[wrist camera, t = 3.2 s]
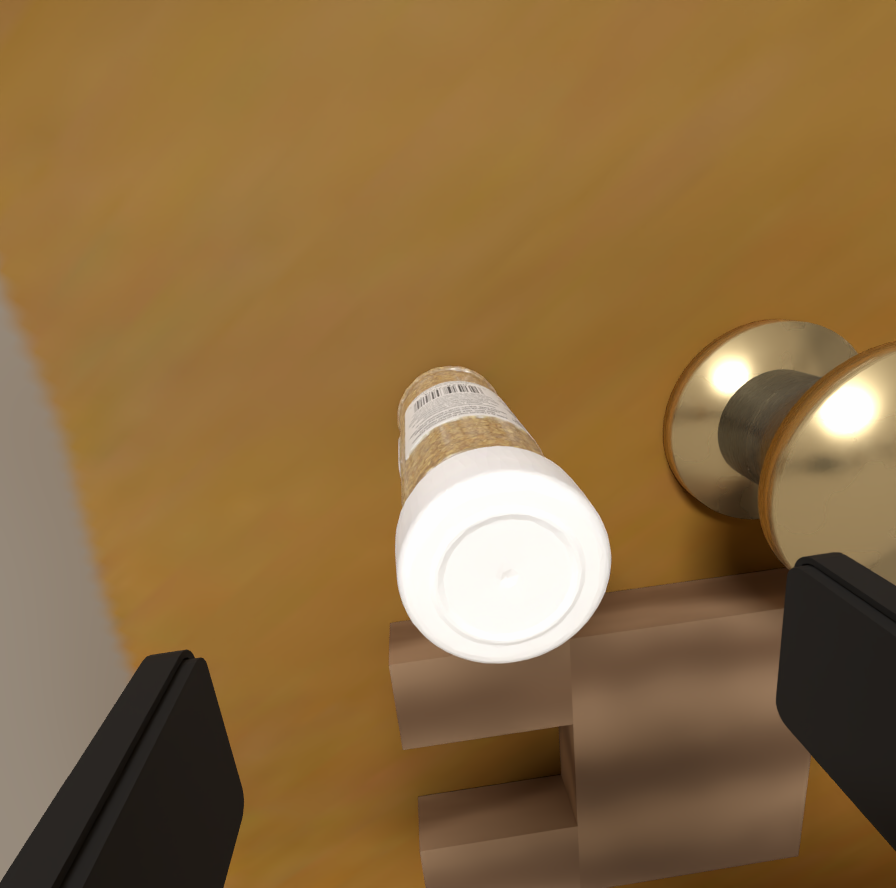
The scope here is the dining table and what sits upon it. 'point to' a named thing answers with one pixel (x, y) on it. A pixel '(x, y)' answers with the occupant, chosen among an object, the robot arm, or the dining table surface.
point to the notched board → (617, 743)
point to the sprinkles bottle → (490, 527)
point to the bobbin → (792, 439)
